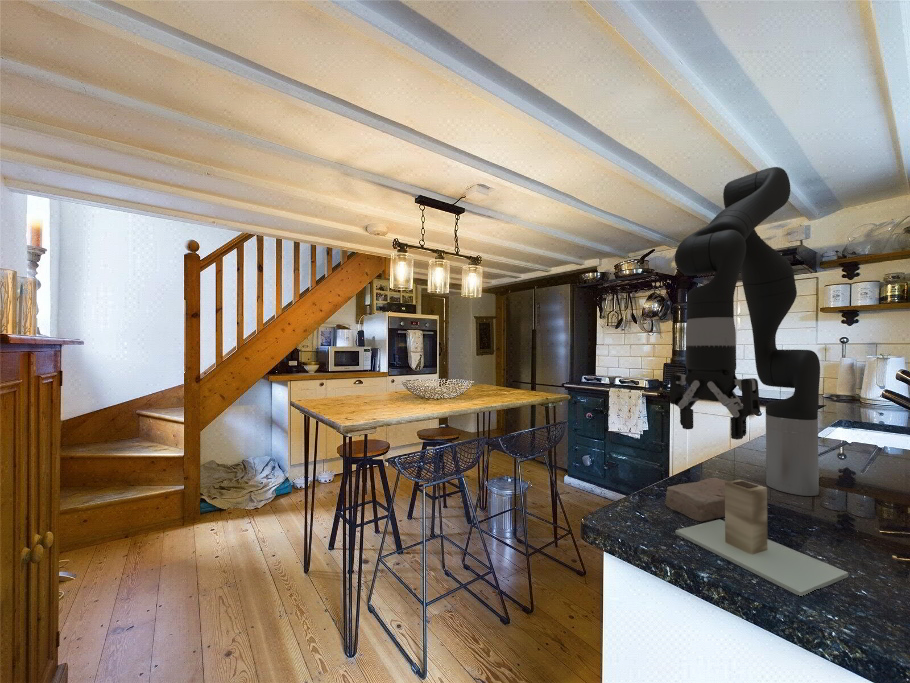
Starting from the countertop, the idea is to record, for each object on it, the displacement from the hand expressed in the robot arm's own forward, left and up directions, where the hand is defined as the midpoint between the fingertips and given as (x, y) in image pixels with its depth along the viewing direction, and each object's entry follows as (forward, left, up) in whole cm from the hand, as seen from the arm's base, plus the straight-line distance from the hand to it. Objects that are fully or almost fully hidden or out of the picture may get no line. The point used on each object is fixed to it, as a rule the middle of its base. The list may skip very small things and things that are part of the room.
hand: (710, 433), depth 66 cm
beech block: (0, +6, -17) cm, 18 cm away
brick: (-11, -7, -18) cm, 23 cm away
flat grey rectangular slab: (0, +7, -18) cm, 19 cm away
